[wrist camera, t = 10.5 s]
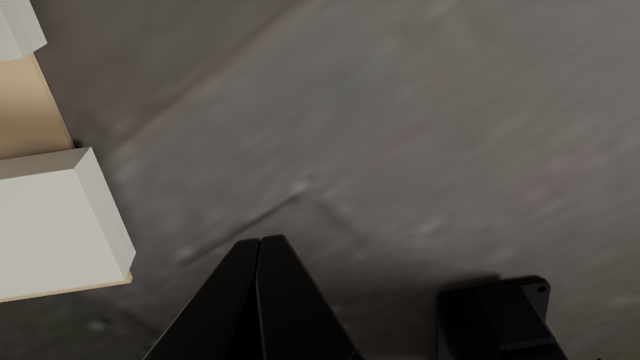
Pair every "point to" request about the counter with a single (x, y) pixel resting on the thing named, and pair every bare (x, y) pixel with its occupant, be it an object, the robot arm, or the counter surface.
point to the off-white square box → (59, 225)
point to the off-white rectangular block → (19, 30)
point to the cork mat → (32, 127)
